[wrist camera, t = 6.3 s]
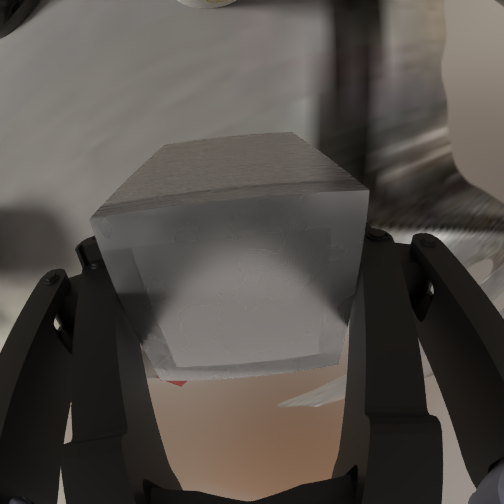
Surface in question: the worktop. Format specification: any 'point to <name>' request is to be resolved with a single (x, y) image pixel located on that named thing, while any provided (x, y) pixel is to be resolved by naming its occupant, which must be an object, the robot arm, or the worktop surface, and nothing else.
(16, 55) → the worktop surface
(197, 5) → the cup
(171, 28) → the worktop surface
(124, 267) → the frosted translucent cube
